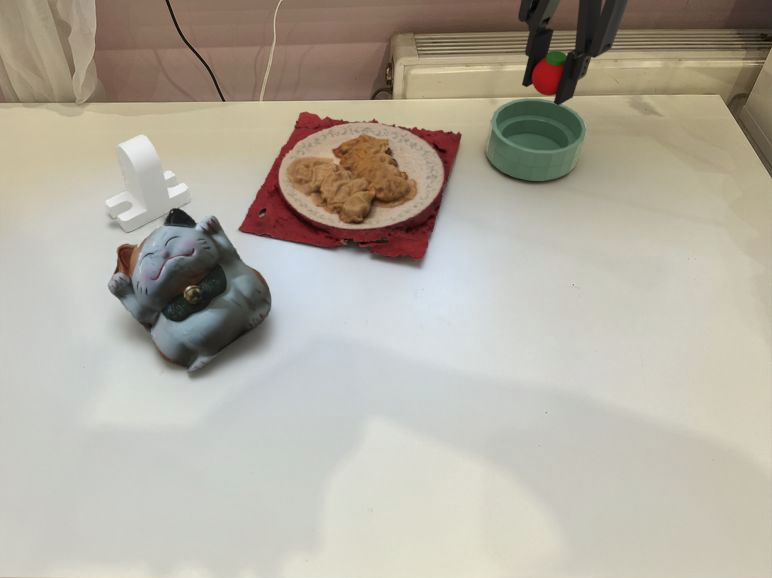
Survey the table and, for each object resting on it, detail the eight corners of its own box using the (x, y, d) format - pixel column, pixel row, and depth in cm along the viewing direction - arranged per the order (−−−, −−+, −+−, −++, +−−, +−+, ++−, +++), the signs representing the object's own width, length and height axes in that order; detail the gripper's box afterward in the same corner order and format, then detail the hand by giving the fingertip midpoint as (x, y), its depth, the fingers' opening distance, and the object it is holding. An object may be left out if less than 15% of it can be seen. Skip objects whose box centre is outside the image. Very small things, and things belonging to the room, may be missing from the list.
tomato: (562, 82, 88) (573, 46, 84) (568, 103, 85) (579, 66, 81) (526, 82, 88) (534, 45, 85) (530, 102, 86) (539, 66, 82)
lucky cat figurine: (165, 391, 73) (86, 288, 65) (159, 340, 83) (91, 246, 76) (288, 322, 72) (222, 211, 65) (267, 279, 83) (208, 179, 75)
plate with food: (460, 144, 97) (464, 123, 94) (422, 266, 82) (424, 245, 79) (301, 120, 102) (300, 99, 100) (238, 230, 87) (234, 209, 85)
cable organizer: (192, 200, 91) (178, 136, 84) (127, 233, 88) (106, 170, 80) (171, 181, 94) (156, 117, 86) (107, 212, 91) (85, 149, 83)
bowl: (568, 130, 98) (577, 98, 94) (582, 185, 91) (594, 153, 87) (481, 128, 99) (487, 97, 95) (489, 183, 91) (496, 152, 87)
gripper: (512, -136, 71) (475, 72, 90) (657, -85, 62) (583, 134, 81) (561, -154, 74) (515, 52, 92) (706, -106, 65) (623, 111, 84)
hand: (547, 90), depth 87 cm, fingers closed on tomato, 4 cm apart
